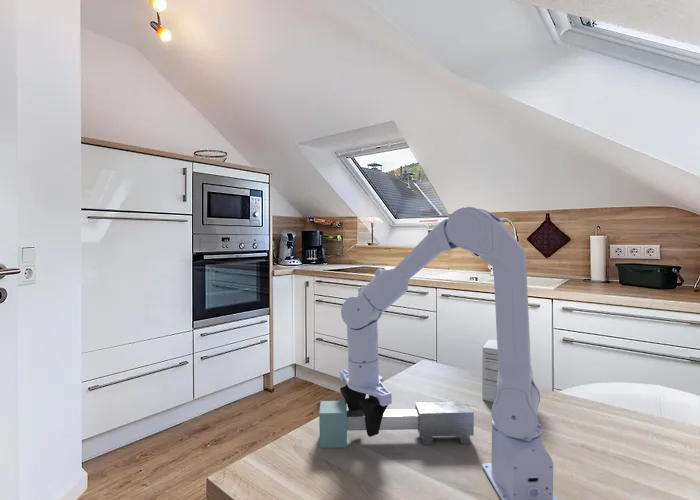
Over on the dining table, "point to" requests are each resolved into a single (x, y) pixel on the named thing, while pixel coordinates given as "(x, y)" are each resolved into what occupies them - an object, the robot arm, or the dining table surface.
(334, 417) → the socket
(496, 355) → the supplement box
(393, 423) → the extension bar
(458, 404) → the sleeve
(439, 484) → the dining table surface
